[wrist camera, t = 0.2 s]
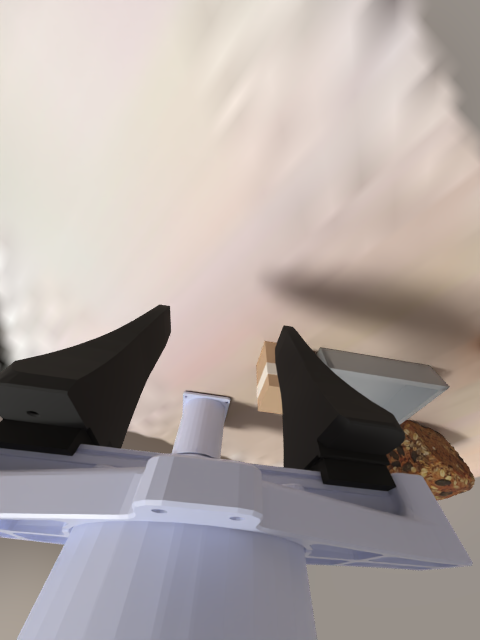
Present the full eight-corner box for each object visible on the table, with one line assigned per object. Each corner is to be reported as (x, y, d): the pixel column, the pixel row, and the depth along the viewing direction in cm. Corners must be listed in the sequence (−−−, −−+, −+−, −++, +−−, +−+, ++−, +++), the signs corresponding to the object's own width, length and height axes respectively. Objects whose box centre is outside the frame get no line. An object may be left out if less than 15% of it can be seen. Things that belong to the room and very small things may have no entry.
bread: (366, 462, 48) (390, 520, 40) (332, 452, 45) (350, 511, 37) (444, 431, 38) (496, 499, 30) (406, 415, 35) (452, 485, 27)
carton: (289, 371, 30) (298, 417, 24) (255, 365, 29) (257, 411, 24) (301, 346, 27) (315, 392, 21) (264, 340, 26) (268, 385, 21)
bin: (372, 416, 36) (383, 437, 33) (287, 404, 35) (290, 424, 32) (429, 365, 28) (449, 387, 25) (320, 347, 26) (328, 367, 24)
